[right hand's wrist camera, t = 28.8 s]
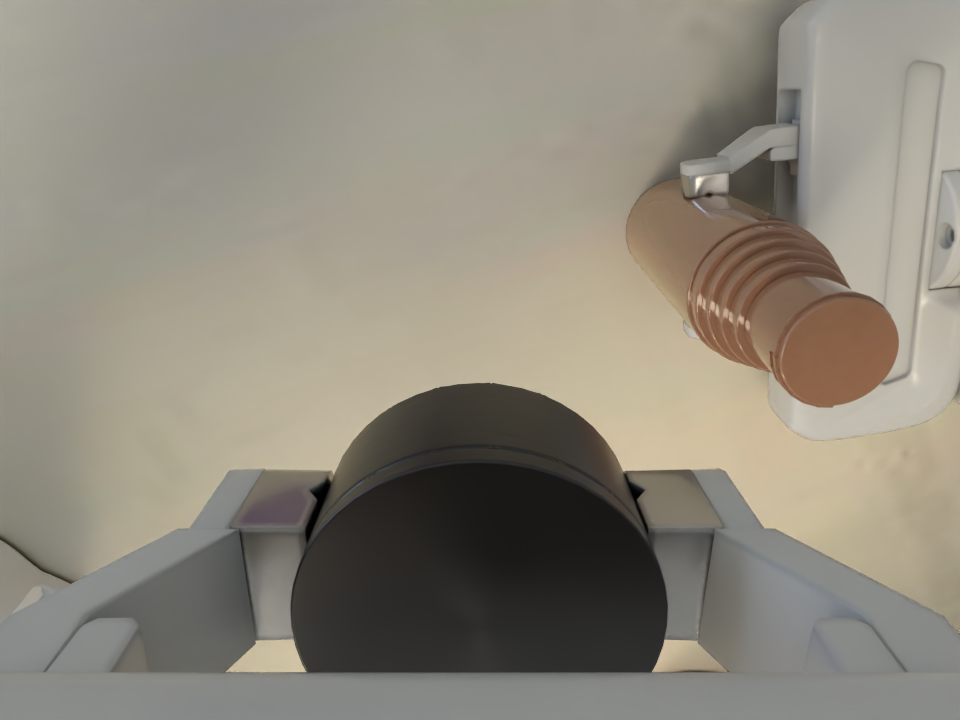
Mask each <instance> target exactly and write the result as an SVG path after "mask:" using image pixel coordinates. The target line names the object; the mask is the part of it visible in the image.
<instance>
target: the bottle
mask: <svg viewBox="0 0 960 720" xmlns="http://www.w3.org/2000/svg"><path fill="white" fill-rule="evenodd" d="M626 240H627V245H628V248H629V251H630V253H631V255H632V257H633V259H634V260H635V261H636V263H637V264H638V265H639V266H640V267H641V269H642V270H643V271H644V272H645V273H646V275H647V276H648V277H649V278H650V279H651V281H652V282H653V283H654V284H655V285H656V287H657V288H658V289H659V290H660V291H661V293H662V294H663V295H664V296H665V297H666V299H667V300H668V301H669V302H670V303H671V305H672V306H673V307H674V308H675V309H676V311H677V312H678V313H679V314H680V315H681V317H682V318H683V319H684V320H685V321H686V323H687V324H688V325H689V326H690V328H691V329H692V330H693V331H694V332H695V334H696V335H697V336H698V337H699V338H700V340H701V341H702V342H703V343H705V344H706V345H707V346H708V347H709V348H711V349H712V350H713V351H715V352H717V353H719V354H720V355H721V356H723V357H725V358H727V359H729V360H731V361H734V362H737V363H741V364H744V365H747V366H751V367H754V368H757V369H761V370H765V371H767V372H771V373H773V375H774V378H775V379H776V380H777V382H778V383H779V384H780V385H781V386H782V387H783V388H784V389H785V390H786V391H787V392H788V394H789V395H790V396H792V397H794V398H795V399H797V400H798V401H800V402H802V403H804V404H807V405H811V406H815V407H817V408H833V406H835V405H842V404H846V403H850V402H852V401H855V400H857V399H859V398H861V397H863V396H865V395H867V394H868V393H870V392H871V391H872V390H874V389H875V388H876V387H877V386H878V385H879V384H880V383H881V382H882V381H883V380H884V379H885V378H886V377H887V375H888V374H889V372H890V371H891V369H892V367H893V365H894V363H895V360H896V357H897V354H898V349H899V337H898V331H897V328H896V325H895V323H894V321H893V319H892V317H891V315H890V313H889V312H888V311H887V310H886V308H885V307H884V306H883V304H881V303H880V302H878V301H877V300H875V299H874V298H872V297H871V296H868V295H865V294H862V293H858V292H855V291H853V290H851V288H850V286H849V284H848V283H847V281H846V279H845V277H844V275H843V274H842V272H841V270H840V268H839V266H838V264H837V263H836V261H835V259H834V257H833V256H832V254H831V253H830V251H829V250H828V249H827V248H826V246H825V245H824V244H823V243H821V242H820V241H819V240H818V239H817V238H816V237H815V236H814V235H813V234H811V233H810V232H809V231H807V230H805V229H804V228H802V227H800V226H798V225H795V224H793V223H791V222H789V221H786V220H784V219H782V218H780V217H777V216H775V215H773V214H771V213H768V212H766V211H764V210H762V209H759V208H757V207H755V206H753V205H750V204H748V203H746V202H744V201H741V200H739V199H737V198H735V197H732V196H730V195H728V194H721V195H712V194H710V193H708V194H706V195H705V196H702V197H697V198H688V197H685V195H682V194H681V180H680V179H672V180H667V181H664V182H662V183H659V184H657V185H655V186H654V187H652V188H650V189H649V190H648V191H647V192H645V193H644V194H643V195H642V196H641V197H640V198H639V200H638V201H637V202H636V204H635V205H634V207H633V209H632V211H631V213H630V215H629V218H628V221H627V227H626Z"/></svg>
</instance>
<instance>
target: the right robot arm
mask: <svg viewBox="0 0 960 720" xmlns="http://www.w3.org/2000/svg"><path fill="white" fill-rule="evenodd" d="M624 475H625V477H626V480H627V483H628V485H629V488H630V490H631V493H632V495H633V498H634V501H635V503H636V506H637V508H638V511H639V513H640V516H641V518H642V521H643V524H644V526H645V529H646V531H647V534H648V536H649V539H650V542H651V544H652V547H653V550H654V552H655V554H656V557H657V559H658V562H659V565H660V568H661V571H662V575H663V578H664V581H665V585H666V592H667V600H668V621H667V629H666V634H665V640H698V644H699V645H701V646H702V647H703V648H704V649H705V650H706V651H707V652H708V653H709V654H710V655H711V656H712V657H713V658H714V659H716V660H717V661H718V662H719V663H720V664H721V665H722V666H723V667H724V668H725V669H726V670H727V671H728V672H226V671H227V670H228V669H229V668H230V667H231V666H232V665H233V664H234V663H235V662H236V661H238V660H239V659H240V658H241V657H242V656H243V655H244V654H245V653H246V652H247V651H248V650H249V649H251V648H252V647H253V646H254V645H255V644H256V642H255V640H288V639H294V637H293V632H292V627H291V612H290V603H291V594H292V586H293V582H294V579H295V575H296V572H297V569H298V565H299V563H300V560H301V558H302V555H303V553H304V551H305V548H306V545H307V543H308V540H309V537H310V535H311V532H312V530H313V527H314V525H315V522H316V520H317V517H318V515H319V512H320V510H321V507H322V505H323V502H324V500H325V497H326V494H327V492H328V489H329V487H330V484H331V482H332V479H333V477H334V475H333V472H332V471H323V470H270V469H268V470H265V469H235V470H231V471H229V472H228V473H227V474H226V476H225V477H224V479H223V480H222V482H221V483H220V485H219V486H218V487H217V489H216V490H215V492H214V493H213V495H212V496H211V498H210V499H209V500H208V502H207V503H206V505H205V506H204V508H203V509H202V511H201V512H200V513H199V515H198V516H197V518H196V519H195V521H194V522H193V524H192V525H191V526H190V528H189V529H177V530H175V531H173V532H171V533H169V534H167V535H165V536H163V537H161V538H159V539H158V540H156V541H154V542H152V543H150V544H148V545H146V546H144V547H142V548H140V549H138V550H136V551H134V552H132V553H130V554H128V555H126V556H124V557H122V558H120V559H118V560H116V561H115V562H113V563H111V564H109V565H107V566H105V567H103V568H101V569H99V570H97V571H95V572H93V573H91V574H89V575H87V576H85V577H83V578H81V579H79V580H77V581H75V582H73V583H72V584H70V583H68V582H66V581H64V580H62V579H59V578H57V577H55V576H52V575H50V574H48V573H45V572H43V571H41V570H40V569H38V568H37V567H36V566H34V565H33V564H32V563H31V562H29V561H28V560H27V559H26V558H25V557H23V556H22V555H21V554H20V553H19V552H17V551H16V550H15V549H13V548H12V547H11V546H9V545H8V544H6V543H5V542H3V541H2V540H0V720H960V634H959V633H958V631H957V630H956V629H955V628H954V627H953V626H952V625H951V624H950V623H949V622H948V620H947V619H946V618H945V617H944V616H942V615H940V614H939V613H937V612H935V611H933V610H931V609H929V608H927V607H925V606H923V605H921V604H919V603H917V602H915V601H913V600H911V599H910V598H908V597H906V596H904V595H902V594H900V593H898V592H896V591H894V590H892V589H890V588H888V587H886V586H884V585H883V584H881V583H879V582H877V581H875V580H873V579H871V578H869V577H867V576H865V575H863V574H861V573H859V572H857V571H856V570H854V569H852V568H850V567H848V566H846V565H844V564H842V563H840V562H838V561H836V560H834V559H832V558H830V557H828V556H827V555H825V554H823V553H821V552H819V551H817V550H815V549H813V548H811V547H809V546H807V545H805V544H803V543H801V542H800V541H798V540H796V539H794V538H792V537H790V536H788V535H786V534H784V533H782V532H780V531H778V530H776V529H764V527H763V526H762V524H761V523H760V521H759V520H758V518H757V517H756V515H755V514H754V513H753V511H752V510H751V508H750V507H749V505H748V504H747V502H746V501H745V499H744V498H743V497H742V495H741V494H740V492H739V491H738V489H737V488H736V486H735V485H734V483H733V482H732V480H731V479H730V478H729V476H728V475H727V473H726V472H725V471H724V470H722V469H699V470H651V471H624Z"/></svg>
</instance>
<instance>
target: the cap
mask: <svg viewBox="0 0 960 720" xmlns="http://www.w3.org/2000/svg"><path fill="white" fill-rule="evenodd" d="M290 612H291V627H292V632H293V637H294V641H295V646H296V649H297V651H298V654H299V656H300V659H301V662H302V664H303V666H304V668H305V670H306V671H307V672H652V671H653V669H654V667H655V665H656V663H657V660H658V658H659V655H660V652H661V650H662V647H663V643H664V639H665V634H666V629H667V621H668V600H667V592H666V585H665V581H664V578H663V575H662V571H661V568H660V565H659V562H658V559H657V557H656V554H655V552H654V550H653V547H652V544H651V542H650V539H649V536H648V534H647V531H646V529H645V526H644V524H643V521H642V518H641V516H640V513H639V511H638V508H637V506H636V503H635V501H634V498H633V495H632V493H631V490H630V488H629V485H628V483H627V480H626V477H625V475H624V472H623V470H622V468H621V466H620V464H619V462H618V460H617V458H616V456H615V454H614V453H613V451H612V450H611V448H610V447H609V445H608V444H607V442H606V441H605V440H604V438H603V437H602V436H601V435H600V434H599V433H598V432H597V431H596V430H595V429H594V427H593V426H591V425H590V424H589V423H588V422H587V421H585V420H584V419H583V418H582V417H581V416H579V415H578V414H577V413H575V412H574V411H572V410H571V409H569V408H567V407H566V406H564V405H563V404H561V403H559V402H557V401H555V400H552V399H550V398H548V397H547V396H545V395H542V394H540V393H535V392H532V391H529V390H526V389H522V388H517V387H512V386H506V385H501V384H495V383H492V384H491V383H473V384H457V385H452V386H445V387H439V388H435V389H432V390H430V391H427V392H424V393H420V394H417V395H415V396H413V397H411V398H408V399H406V400H404V401H402V402H400V403H398V404H396V405H394V406H393V407H391V408H389V409H388V410H387V411H385V412H383V413H382V414H380V415H379V416H378V417H377V418H376V419H374V420H373V421H372V422H371V423H370V424H368V425H367V426H366V427H365V428H364V429H363V430H362V432H361V433H360V434H359V435H358V436H357V437H356V438H355V439H354V440H353V442H352V443H351V445H350V446H349V448H348V449H347V451H346V452H345V454H344V455H343V457H342V459H341V461H340V463H339V465H338V468H337V470H336V472H335V474H334V477H333V479H332V482H331V484H330V487H329V489H328V492H327V494H326V497H325V500H324V502H323V505H322V507H321V510H320V512H319V515H318V517H317V520H316V522H315V525H314V527H313V530H312V532H311V535H310V537H309V540H308V543H307V545H306V548H305V551H304V553H303V555H302V558H301V560H300V563H299V565H298V569H297V572H296V575H295V579H294V582H293V586H292V594H291V603H290Z"/></svg>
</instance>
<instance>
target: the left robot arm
mask: <svg viewBox="0 0 960 720" xmlns="http://www.w3.org/2000/svg"><path fill="white" fill-rule="evenodd" d="M756 157H757V158H761V159H765V160H769V161H775V178H774V211H773V215H775V216H777V217H780V218H782V219H784V220H786V221H789V222H791V223H793V224H795V225H798V226H800V227H802V228H804V229H805V230H807V231H809V232H810V233H811V234H813V235H814V236H815V237H816V238H817V239H818V240H819V241H820V242H821V243H823V244H824V245H825V246H826V248H827V249H828V250H829V251H830V253H831V254H832V256H833V257H834V259H835V261H836V263H837V264H838V266H839V268H840V270H841V272H842V274H843V275H844V277H845V279H846V281H847V283H848V284H849V286H850V288H851V290H853V291H855V292H858V293H862V294H865V295H868V296H871V297H872V298H874V299H875V300H877V301H878V302H880V303H881V304H883V306H884V307H885V308H886V310H887V311H888V312H889V313H890V315H891V317H892V319H893V321H894V323H895V325H896V328H897V331H898V337H899V349H898V354H897V357H896V360H895V363H894V365H893V367H892V369H891V371H890V372H889V374H888V375H887V377H886V378H885V379H884V380H883V381H882V382H881V383H880V384H879V385H878V386H877V387H876V388H875V389H874V390H872V391H871V392H870V393H868V394H867V395H865V396H863V397H861V398H859V399H857V400H855V401H852V402H850V403H846V404H842V405H835V406H833V408H817V407H815V406H811V405H807V404H804V403H802V402H800V401H798V400H797V399H795V398H794V397H792V396H790V395H789V394H788V392H787V391H786V390H785V389H784V388H783V387H782V386H781V385H780V384H779V383H778V382H777V380H776V379H775V378H774V375H773V373H771V372H769V378H768V403H769V406H770V408H771V409H772V411H773V412H774V413H775V414H776V415H777V417H778V418H779V419H780V420H781V421H782V422H783V423H784V424H785V425H786V426H787V428H789V429H790V430H791V431H793V432H794V433H796V434H797V435H799V436H801V437H803V438H805V439H808V440H812V441H827V440H838V439H846V438H854V437H860V436H867V435H873V434H879V433H885V432H890V431H895V430H899V429H904V428H908V427H912V426H916V425H919V424H921V423H924V422H926V421H928V420H931V419H932V418H934V417H936V416H937V415H939V414H940V413H941V412H943V411H944V410H945V409H946V408H947V407H948V406H949V404H950V403H951V402H952V401H954V402H956V403H958V404H960V0H812V1H809V2H806V3H804V4H802V5H801V6H800V7H798V8H797V9H796V10H795V11H794V12H793V13H792V14H791V15H790V16H789V17H788V18H787V19H786V20H785V21H784V22H783V24H782V25H781V27H780V30H779V42H778V76H777V110H776V124H770V125H763V126H756V127H752V128H751V129H750V130H748V131H747V132H746V133H744V134H743V135H742V136H740V137H739V138H738V139H736V140H735V141H733V142H732V143H731V144H729V145H728V146H727V147H725V148H724V149H723V150H721V151H720V152H719V153H717V157H710V158H702V159H695V160H687V161H683V162H680V173H681V174H680V180H681V194H682V195H685V197H688V198H697V197H702V196H705V195H706V194H708V193H710V194H712V195H721V194H728V193H729V175H731V174H733V173H734V172H736V171H737V170H739V169H740V168H741V167H743V166H744V165H746V164H747V163H749V162H750V161H752V160H753V159H755V158H756ZM683 326H684V331H685V332H686V334H687V335H688V336H689V337H691V338H697V339H700V338H699V337H698V336H697V335H696V334H695V332H694V331H693V330H692V329H691V328H690V326H689V325H688V324H687V323H686V321H685V320H684V319H683Z"/></svg>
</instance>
